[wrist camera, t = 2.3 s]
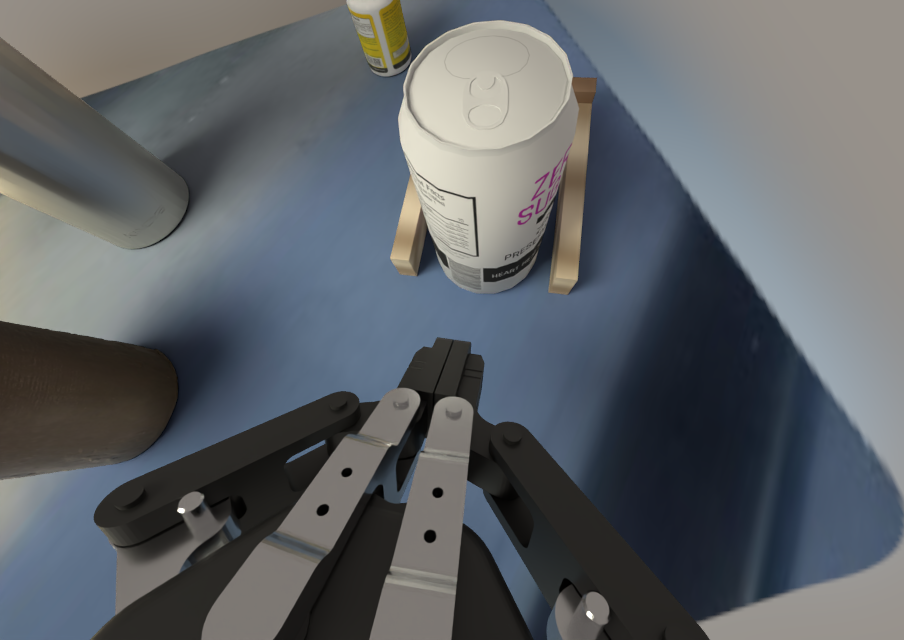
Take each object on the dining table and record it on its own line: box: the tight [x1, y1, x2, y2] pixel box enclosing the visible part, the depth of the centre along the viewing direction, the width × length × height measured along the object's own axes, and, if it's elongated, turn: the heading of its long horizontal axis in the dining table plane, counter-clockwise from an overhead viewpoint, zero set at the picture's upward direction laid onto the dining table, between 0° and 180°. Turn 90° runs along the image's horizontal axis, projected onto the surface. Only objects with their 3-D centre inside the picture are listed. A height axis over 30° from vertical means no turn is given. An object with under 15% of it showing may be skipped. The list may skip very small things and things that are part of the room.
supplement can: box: [398, 20, 579, 294], centre depth 21 cm, size 8×8×15 cm
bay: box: [390, 77, 597, 295], centre depth 27 cm, size 18×14×4 cm
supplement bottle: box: [346, 0, 411, 77], centre depth 31 cm, size 5×5×8 cm
